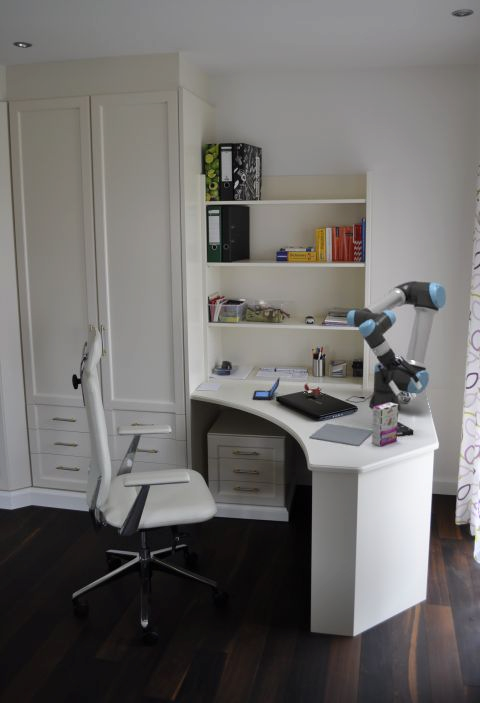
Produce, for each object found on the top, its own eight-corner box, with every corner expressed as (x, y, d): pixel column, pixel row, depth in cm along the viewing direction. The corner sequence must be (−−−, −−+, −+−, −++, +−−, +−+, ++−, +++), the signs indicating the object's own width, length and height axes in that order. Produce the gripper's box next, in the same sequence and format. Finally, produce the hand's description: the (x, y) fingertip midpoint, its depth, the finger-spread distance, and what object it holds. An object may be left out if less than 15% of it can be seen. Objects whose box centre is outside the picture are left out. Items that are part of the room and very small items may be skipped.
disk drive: (413, 436, 297) (395, 425, 310) (414, 430, 296) (396, 420, 310) (393, 438, 293) (375, 427, 307) (393, 432, 293) (376, 422, 307)
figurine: (330, 400, 351) (330, 388, 349) (310, 402, 346) (310, 389, 345) (316, 393, 364) (317, 381, 363) (297, 395, 360) (297, 383, 359)
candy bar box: (387, 438, 291) (389, 401, 288) (397, 441, 288) (399, 404, 284) (370, 443, 284) (372, 406, 281) (380, 446, 281) (382, 408, 277)
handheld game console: (254, 392, 365) (254, 376, 363) (279, 393, 364) (279, 376, 362) (252, 400, 350) (252, 383, 348) (278, 401, 349) (278, 384, 347)
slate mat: (326, 424, 310) (326, 423, 310) (373, 431, 300) (373, 430, 300) (309, 438, 291) (309, 436, 290) (358, 446, 281) (358, 445, 281)
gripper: (360, 362, 306) (385, 400, 309) (399, 349, 285) (425, 390, 288) (368, 354, 310) (393, 391, 313) (408, 340, 290) (434, 380, 292)
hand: (408, 391), depth 300 cm, fingers open, 13 cm apart
